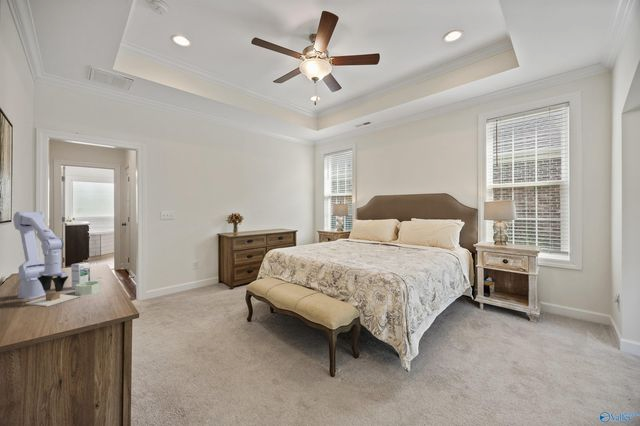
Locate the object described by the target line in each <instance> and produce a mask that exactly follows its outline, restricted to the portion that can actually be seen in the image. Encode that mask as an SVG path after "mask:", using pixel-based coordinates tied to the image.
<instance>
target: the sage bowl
mask: <svg viewBox="0 0 640 426" xmlns="http://www.w3.org/2000/svg"><path fill="white" fill-rule="evenodd" d="M101 283H102V282H101V280H100V281H99V280H90V282H83V283H79V284H77V285H76V286H75V289H74V296H87V295H88V296H89V295H94V294H96V293H100V291H101V288H102V287H101Z"/></svg>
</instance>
